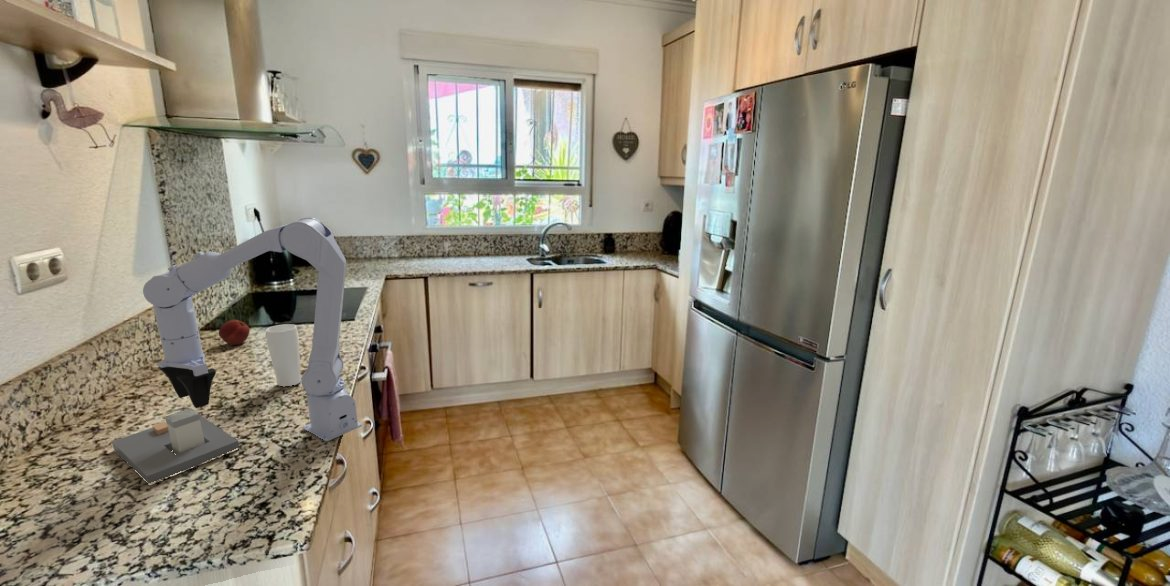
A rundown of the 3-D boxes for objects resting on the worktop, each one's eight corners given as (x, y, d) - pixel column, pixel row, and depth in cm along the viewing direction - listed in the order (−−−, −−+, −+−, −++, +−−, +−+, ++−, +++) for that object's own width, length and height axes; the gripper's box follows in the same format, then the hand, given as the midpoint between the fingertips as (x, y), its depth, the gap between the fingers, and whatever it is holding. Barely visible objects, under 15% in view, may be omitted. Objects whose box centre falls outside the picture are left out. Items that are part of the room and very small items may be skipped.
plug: (206, 450, 97) (199, 413, 95) (181, 460, 94) (173, 422, 92) (198, 444, 99) (190, 408, 97) (173, 453, 96) (164, 416, 94)
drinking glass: (270, 390, 123) (261, 333, 120) (279, 379, 130) (270, 325, 126) (300, 387, 125) (292, 331, 121) (307, 376, 131) (299, 322, 128)
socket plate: (239, 449, 97) (237, 436, 97) (149, 486, 86) (145, 471, 85) (198, 421, 108) (196, 408, 108) (114, 450, 97) (110, 436, 96)
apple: (243, 347, 152) (239, 323, 150) (215, 349, 151) (210, 324, 149) (255, 339, 159) (251, 316, 157) (228, 341, 158) (224, 317, 156)
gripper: (139, 333, 95) (154, 399, 98) (168, 349, 87) (183, 419, 90) (184, 324, 100) (196, 386, 104) (215, 337, 92) (227, 404, 96)
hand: (193, 400), depth 97 cm, fingers open, 7 cm apart
